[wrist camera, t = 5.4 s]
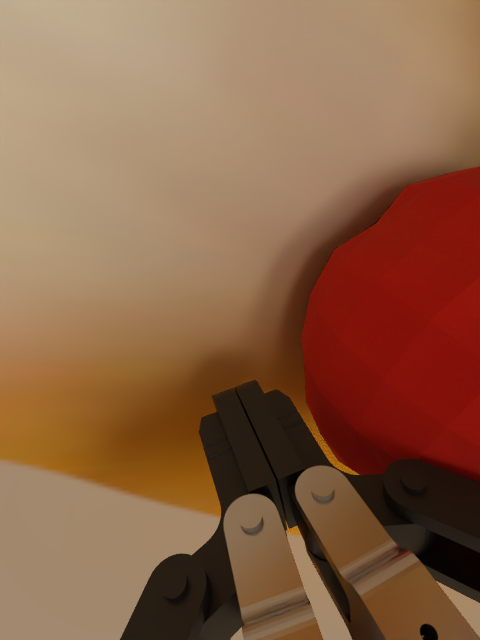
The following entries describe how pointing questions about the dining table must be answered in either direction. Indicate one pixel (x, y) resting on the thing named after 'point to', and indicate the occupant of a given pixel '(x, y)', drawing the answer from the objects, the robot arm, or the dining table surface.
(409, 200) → the tomato
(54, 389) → the dining table surface
